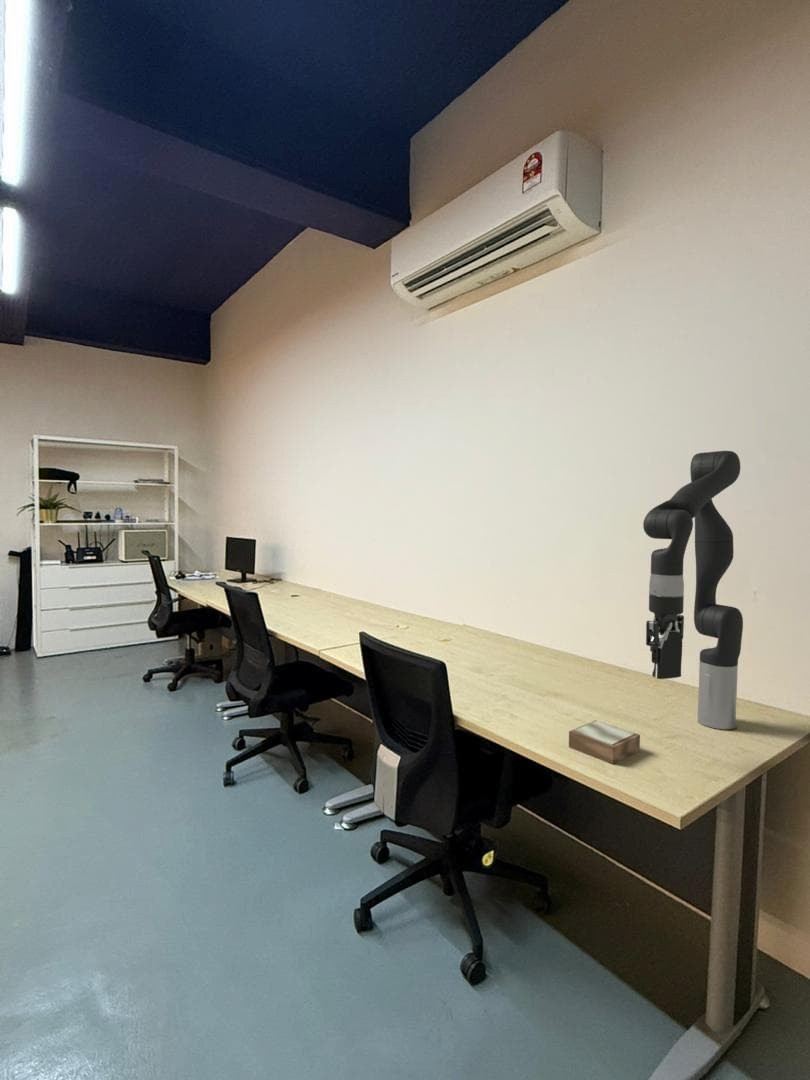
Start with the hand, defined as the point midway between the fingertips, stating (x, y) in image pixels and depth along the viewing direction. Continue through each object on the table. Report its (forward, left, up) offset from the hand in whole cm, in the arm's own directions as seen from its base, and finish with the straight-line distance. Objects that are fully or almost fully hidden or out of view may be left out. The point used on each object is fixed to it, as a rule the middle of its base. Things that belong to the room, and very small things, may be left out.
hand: (664, 660), depth 133 cm
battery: (0, 0, -4) cm, 4 cm away
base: (+9, -10, -23) cm, 27 cm away
